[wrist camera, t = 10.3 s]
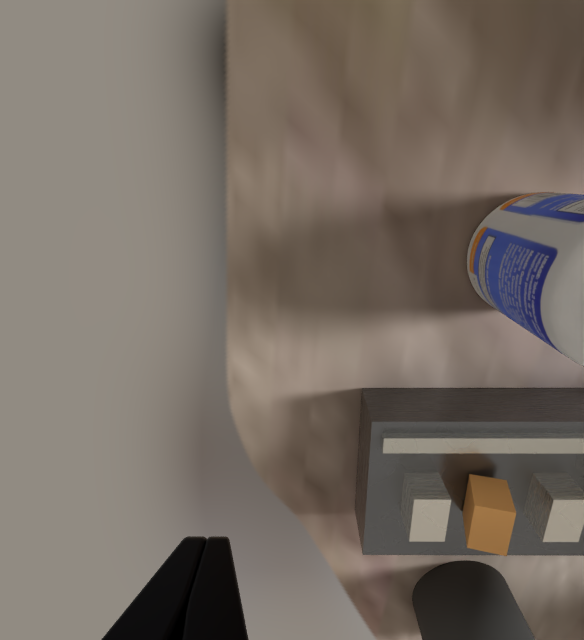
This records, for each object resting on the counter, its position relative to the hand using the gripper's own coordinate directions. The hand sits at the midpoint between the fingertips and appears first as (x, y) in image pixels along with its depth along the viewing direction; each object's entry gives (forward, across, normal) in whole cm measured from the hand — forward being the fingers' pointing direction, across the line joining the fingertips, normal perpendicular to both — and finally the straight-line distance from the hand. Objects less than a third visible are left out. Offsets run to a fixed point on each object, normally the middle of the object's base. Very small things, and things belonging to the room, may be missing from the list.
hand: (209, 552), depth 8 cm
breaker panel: (+13, -12, +8) cm, 19 cm away
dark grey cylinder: (+13, -12, +19) cm, 26 cm away
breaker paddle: (+10, -11, +8) cm, 16 cm away
